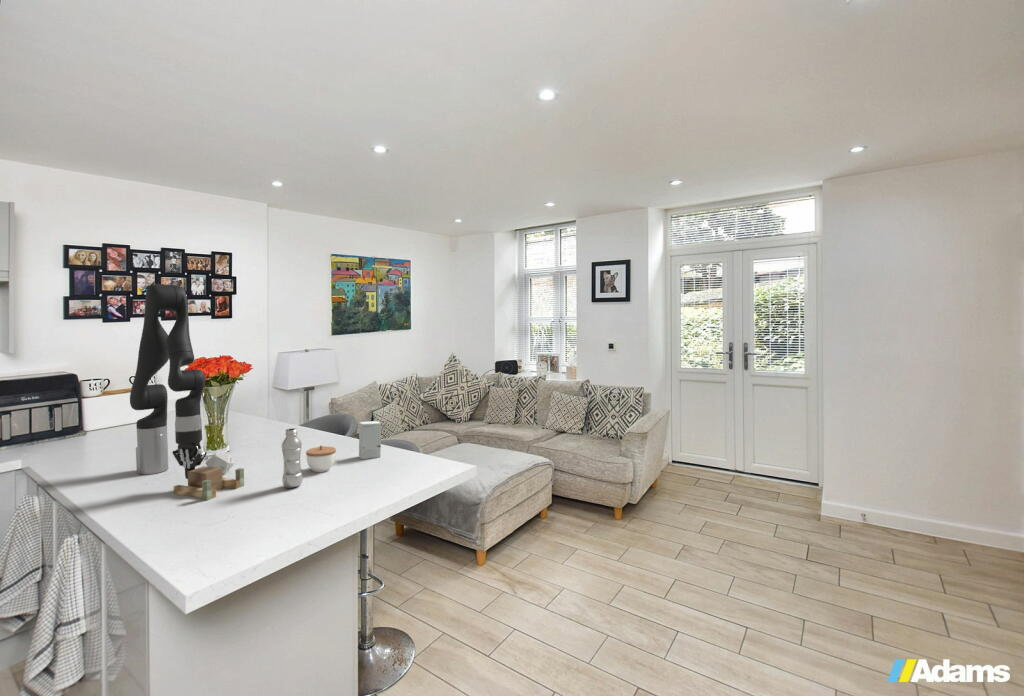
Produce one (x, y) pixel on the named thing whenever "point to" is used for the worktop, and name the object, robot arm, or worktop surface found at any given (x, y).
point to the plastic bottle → (292, 459)
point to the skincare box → (369, 439)
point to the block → (206, 477)
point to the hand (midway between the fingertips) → (190, 478)
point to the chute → (206, 486)
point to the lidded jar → (321, 458)
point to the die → (221, 461)
